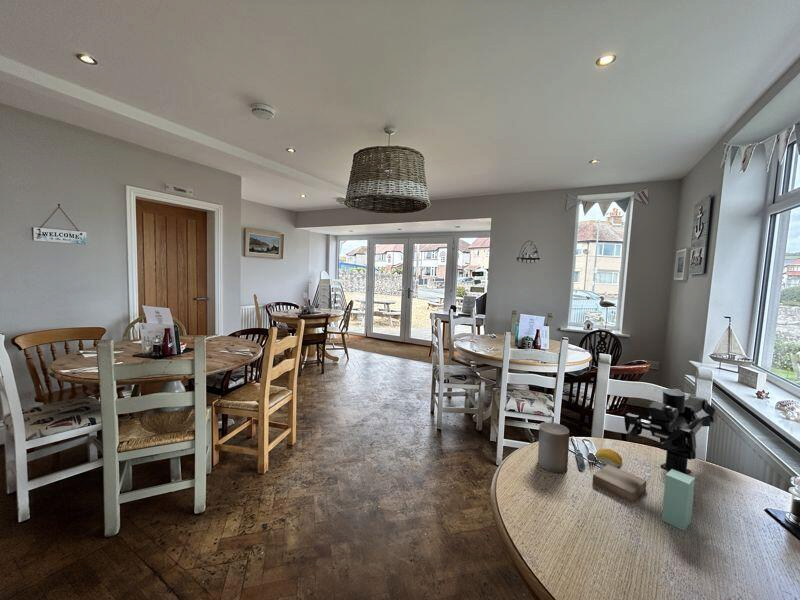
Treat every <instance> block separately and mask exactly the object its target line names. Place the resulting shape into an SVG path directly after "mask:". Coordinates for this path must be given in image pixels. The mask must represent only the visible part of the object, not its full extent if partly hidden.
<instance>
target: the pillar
mask: <svg viewBox="0 0 800 600" xmlns="http://www.w3.org/2000/svg"><path fill="white" fill-rule="evenodd" d="M695 479H696V477H694V476H691V475H689V474H684V473H681V472H679V471H676V470H674V469H671V470H670V471H669V470H668V472H667V473H666V474H665V479H664V487H663V488H664V491H663V501H662V510H661V511H662V512H661V520H662V521H664V522H665V523H668V524H670V525H671V526H674V527H676V528H677V529H680V530H682V531H684V532H685V531H686V530H687V529H688V528H689V527H690V525H691V524H692V522H691V520H692V513H693V501H694V491H695Z"/></svg>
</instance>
